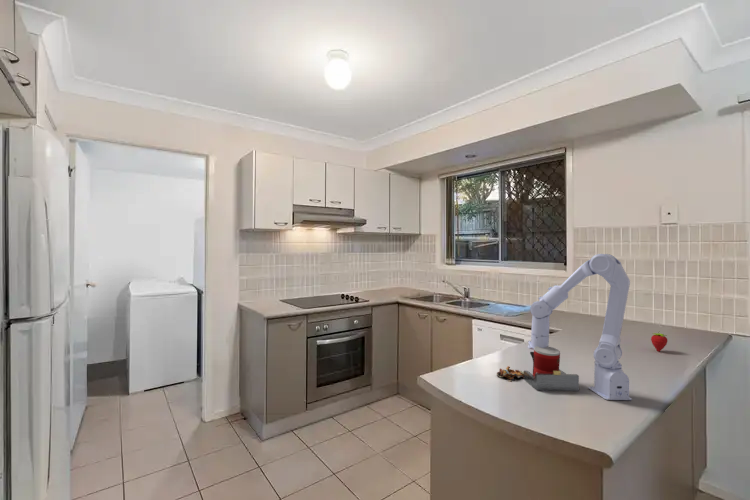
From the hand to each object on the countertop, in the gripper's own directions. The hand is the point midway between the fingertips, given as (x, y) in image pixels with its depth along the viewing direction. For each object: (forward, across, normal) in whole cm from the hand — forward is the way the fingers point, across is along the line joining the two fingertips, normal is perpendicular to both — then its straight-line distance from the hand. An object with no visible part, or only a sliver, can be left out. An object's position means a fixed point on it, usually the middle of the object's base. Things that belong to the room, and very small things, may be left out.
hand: (538, 372), depth 127 cm
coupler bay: (+1, +6, +1) cm, 6 cm away
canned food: (+1, +4, 0) cm, 5 cm away
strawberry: (+1, -37, +71) cm, 81 cm away
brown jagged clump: (+2, 0, -9) cm, 9 cm away
